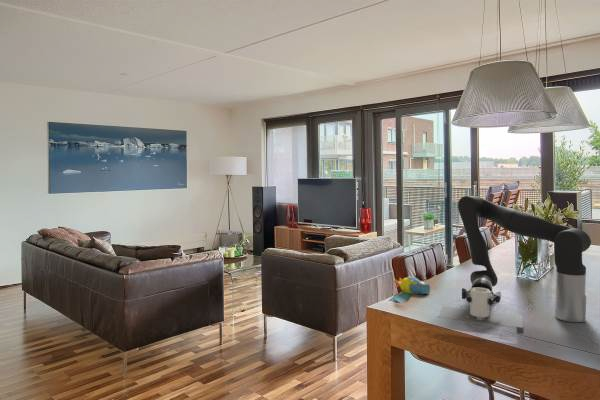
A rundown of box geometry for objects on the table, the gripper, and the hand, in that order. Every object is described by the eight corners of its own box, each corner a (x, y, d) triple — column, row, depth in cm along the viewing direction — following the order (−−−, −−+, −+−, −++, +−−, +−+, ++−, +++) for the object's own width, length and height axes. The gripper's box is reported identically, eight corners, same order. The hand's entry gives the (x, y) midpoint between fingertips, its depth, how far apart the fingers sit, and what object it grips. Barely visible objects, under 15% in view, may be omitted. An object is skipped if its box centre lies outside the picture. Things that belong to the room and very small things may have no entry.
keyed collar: (489, 312, 160) (489, 287, 159) (488, 318, 154) (489, 292, 154) (470, 310, 163) (470, 286, 162) (469, 315, 157) (469, 290, 156)
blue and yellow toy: (411, 268, 209) (442, 273, 199) (411, 286, 210) (441, 292, 200) (381, 280, 188) (413, 286, 178) (380, 299, 189) (413, 307, 179)
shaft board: (521, 318, 162) (522, 292, 161) (523, 331, 149) (523, 303, 149) (443, 309, 174) (443, 285, 173) (438, 321, 161) (438, 294, 160)
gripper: (462, 277, 174) (458, 288, 159) (502, 281, 168) (501, 292, 153) (462, 296, 175) (458, 308, 159) (501, 300, 168) (501, 313, 153)
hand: (479, 301), depth 156 cm, fingers closed on keyed collar, 6 cm apart
